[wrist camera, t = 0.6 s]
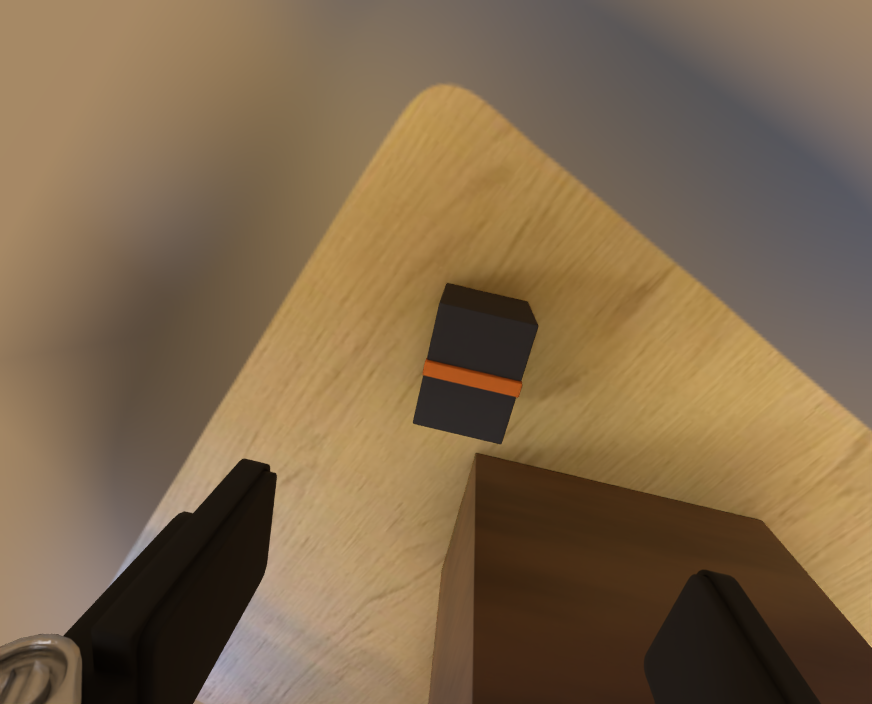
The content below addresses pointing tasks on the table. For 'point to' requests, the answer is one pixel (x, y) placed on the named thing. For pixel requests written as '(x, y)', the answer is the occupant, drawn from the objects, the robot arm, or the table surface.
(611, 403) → the table surface
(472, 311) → the black banded block
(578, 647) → the brown and grey box
